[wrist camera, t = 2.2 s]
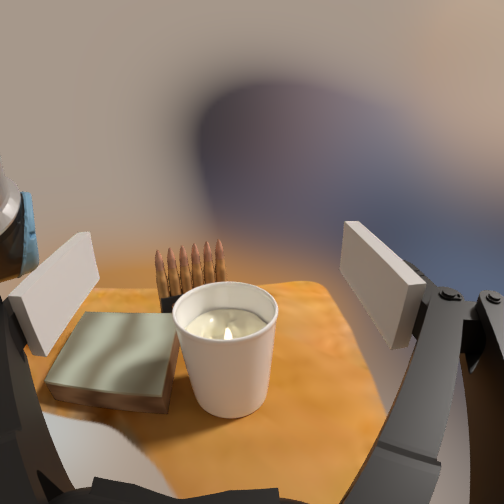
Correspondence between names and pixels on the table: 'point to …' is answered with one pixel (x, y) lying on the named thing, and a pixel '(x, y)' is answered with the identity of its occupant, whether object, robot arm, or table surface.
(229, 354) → the white cup
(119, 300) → the table surface
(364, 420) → the table surface
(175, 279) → the ammunition clip
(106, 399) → the stand
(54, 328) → the robot arm
